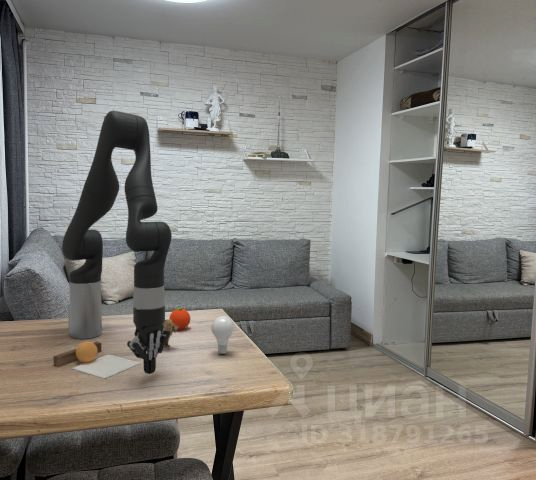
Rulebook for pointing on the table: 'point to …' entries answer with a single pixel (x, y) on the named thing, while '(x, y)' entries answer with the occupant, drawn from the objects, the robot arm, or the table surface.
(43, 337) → the table surface
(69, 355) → the strip
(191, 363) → the table surface
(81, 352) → the ball
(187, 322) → the tomato
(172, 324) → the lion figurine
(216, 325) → the lightbulb
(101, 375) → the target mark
